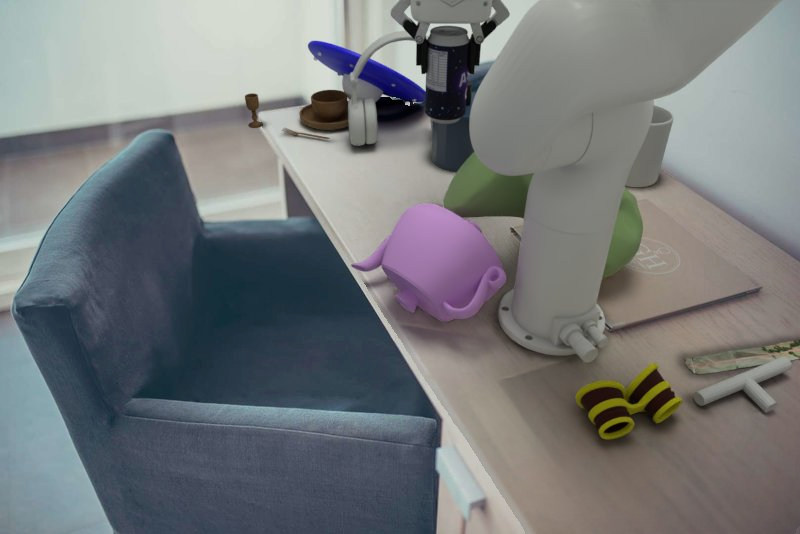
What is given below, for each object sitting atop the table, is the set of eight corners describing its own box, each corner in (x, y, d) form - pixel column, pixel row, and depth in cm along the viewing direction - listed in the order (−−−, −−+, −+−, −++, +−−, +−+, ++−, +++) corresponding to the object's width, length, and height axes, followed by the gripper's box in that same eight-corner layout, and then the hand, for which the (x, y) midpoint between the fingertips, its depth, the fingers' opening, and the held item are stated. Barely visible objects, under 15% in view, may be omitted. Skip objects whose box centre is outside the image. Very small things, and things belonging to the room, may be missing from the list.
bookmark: (680, 360, 73) (682, 356, 72) (844, 334, 76) (846, 330, 76) (694, 377, 70) (696, 374, 70) (862, 350, 74) (864, 346, 73)
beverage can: (462, 127, 88) (468, 38, 81) (422, 124, 89) (424, 36, 82) (466, 111, 93) (472, 25, 85) (428, 108, 93) (430, 23, 86)
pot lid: (509, 117, 105) (511, 90, 102) (447, 127, 102) (449, 99, 99) (478, 93, 113) (480, 68, 110) (420, 102, 110) (421, 76, 107)
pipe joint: (691, 397, 68) (722, 431, 65) (696, 389, 67) (727, 423, 64) (778, 362, 71) (811, 393, 68) (783, 354, 70) (817, 384, 67)
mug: (639, 161, 112) (654, 100, 105) (667, 184, 105) (685, 121, 99) (576, 169, 109) (588, 107, 103) (601, 193, 103) (615, 129, 96)
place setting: (339, 142, 117) (336, 111, 113) (244, 128, 123) (239, 98, 119) (375, 107, 130) (374, 79, 127) (288, 96, 136) (284, 69, 132)
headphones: (351, 154, 113) (346, 43, 102) (348, 134, 120) (343, 28, 109) (462, 148, 115) (469, 38, 104) (453, 128, 122) (459, 24, 111)
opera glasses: (596, 450, 63) (612, 425, 60) (568, 406, 67) (582, 379, 63) (675, 422, 66) (695, 396, 63) (644, 380, 69) (661, 353, 66)
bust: (450, 144, 87) (584, 239, 94) (429, 222, 77) (581, 321, 84) (521, 75, 77) (664, 187, 84) (507, 154, 67) (670, 274, 74)
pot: (501, 165, 110) (506, 113, 105) (446, 176, 107) (449, 123, 102) (473, 141, 118) (477, 91, 112) (421, 150, 115) (423, 99, 109)
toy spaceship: (288, 36, 127) (275, 70, 128) (350, 43, 107) (334, 83, 108) (384, 89, 142) (371, 119, 143) (452, 103, 123) (438, 138, 124)
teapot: (502, 222, 67) (429, 306, 65) (538, 292, 76) (475, 368, 74) (385, 171, 81) (322, 239, 78) (428, 235, 90) (373, 297, 88)
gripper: (380, -75, 73) (382, 80, 84) (532, -75, 73) (514, 81, 84) (382, -85, 79) (384, 61, 90) (522, -85, 79) (507, 61, 90)
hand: (447, 69), depth 87 cm, fingers closed on beverage can, 5 cm apart
